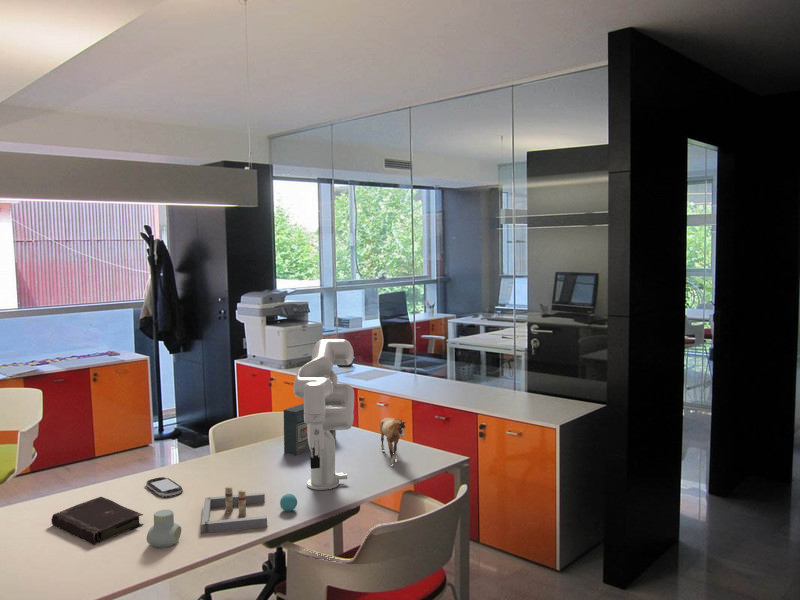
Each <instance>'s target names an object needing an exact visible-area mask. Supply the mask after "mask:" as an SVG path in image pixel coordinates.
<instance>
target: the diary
mask: <svg viewBox="0 0 800 600" xmlns="http://www.w3.org/2000/svg"><path fill="white" fill-rule="evenodd" d="M143 515H144V514H143V513H142V512H141V513H140V512H138V511H135V510H133V509H130V508H128V507H126V506H123V505H121V504H119V503H117V502H115V501H113V500H111V499H109V498H106V497H103V496H98V497H96V498H92V499H90V500H87V501H84V502H80V503H79V504H75V505H73V506H71V507H69V508H65V509H64V510H61V511H58V512H55V513H53V515H52V517H51V524H52V526H54V527H56V528H57V529H60V530H62V531H65V533H68V534H70V535H72V536H74V537H76V538H78V539H81V540H83V541H85V542H87V543H89V544H91V545H92V546H96V545H97V543H100V541H102V542H103V541H106V540H108V539H110V538H114V537H115V536H117V535H120V534H123V533H125V532H127V531H133V530H136V529H138V528H141V527H143V525H144V524H145V523H141V522H140V516H141V517H142V516H143ZM96 542H97V543H96Z"/></svg>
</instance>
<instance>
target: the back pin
mask: <svg viewBox="0 0 800 600" xmlns="http://www.w3.org/2000/svg"><path fill="white" fill-rule="evenodd" d="M224 491H225V492H224V493H225V495H224V496H225V499H226V506H225V513H228V514H229V513H230V514H231V513H232V512H233V511H234V509H233V506H234V505H233V497H232V495H234V494H233V487H232V486H231V485H229V486H226V487H225V488H224Z"/></svg>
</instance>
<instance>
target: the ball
mask: <svg viewBox="0 0 800 600" xmlns="http://www.w3.org/2000/svg"><path fill="white" fill-rule="evenodd" d="M279 505H280V508H281V509H282V510H283V511H285V512H292V511H294V510H295V509H296V508H297V505H298V499H297V497H296V496H295V495H294V494H293V493H286V494H284V495H283V496H282V497H281V498H280V501H279Z"/></svg>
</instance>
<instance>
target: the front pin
mask: <svg viewBox="0 0 800 600" xmlns="http://www.w3.org/2000/svg"><path fill="white" fill-rule="evenodd" d="M237 493H238V494H237V495H238V500H239V505H238V516H239V517H240V518H244V517H245V516H247V507H246V506H247V504H246V494H247V492H246V490H245V489H239V490H238V492H237Z"/></svg>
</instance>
